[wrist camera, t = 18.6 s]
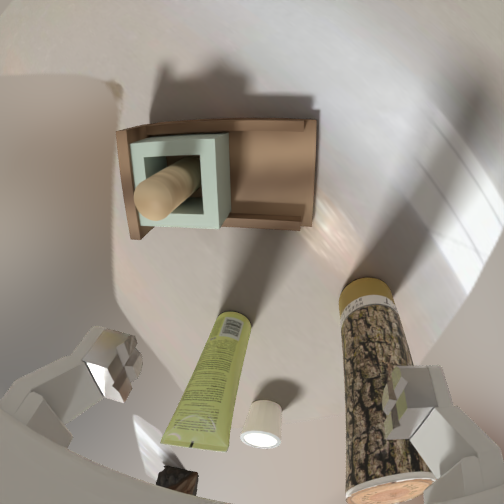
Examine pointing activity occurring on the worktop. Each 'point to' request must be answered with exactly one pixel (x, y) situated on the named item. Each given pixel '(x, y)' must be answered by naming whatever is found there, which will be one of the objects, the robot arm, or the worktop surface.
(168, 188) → the dowel
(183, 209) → the socket block
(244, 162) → the wooden tray
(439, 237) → the worktop surface
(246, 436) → the white short cylinder
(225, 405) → the tube
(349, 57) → the worktop surface
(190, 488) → the brown rock
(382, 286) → the paper tube
